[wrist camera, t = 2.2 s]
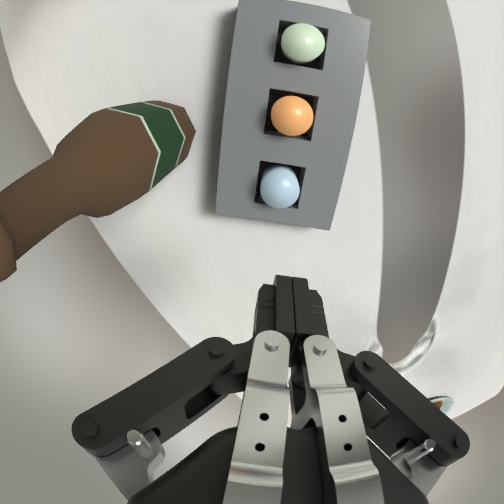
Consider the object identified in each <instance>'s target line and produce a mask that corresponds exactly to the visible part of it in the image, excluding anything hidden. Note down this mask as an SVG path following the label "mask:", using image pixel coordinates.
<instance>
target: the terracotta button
mask: <svg viewBox="0 0 504 504" xmlns="http://www.w3.org/2000/svg"><path fill="white" fill-rule="evenodd" d="M271 120H272V123H273V125H274V126H275V128H276V129H277V130H278V131H279V132H281V133H283V134H285V135H289V136H297V135H301V134H303V133H305V132H306V131H307V130H308V129H309V128H310V126H311V125H312V122H313V111H312V108H311V106H310V105H309V104H308V103H307V102H306V101H305V100H304V99H302V98H300V97H297V96H284V97H281V98H279V99H278V100H277V101H276V102H275V103H274V104H273V106H272V109H271Z"/></svg>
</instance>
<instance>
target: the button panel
mask: <svg viewBox="0 0 504 504" xmlns="http://www.w3.org/2000/svg"><path fill="white" fill-rule="evenodd" d="M297 23H305V24H309V25H312V26H314V27H315V28H317V29H318V30H319V31H320V32H321V33H322V35H323V37H324V40H325V47H324V50H323V52H322V53H321V54H320V60H319V67H318V69H313V68H308V67H303V66H298V65H292V64H285V63H279V62H274V57H275V50H276V43H277V36H278V29H279V27H281V28H288V27H289V26H291V25H293V24H297ZM370 24H371V20H368V19H365V18H362V17H359V16H355V15H352V14H349V13H345V12H341V11H337V10H334V9H329V8H325V7H321V6H316V5H311V4H306V3H300V2H294V1H287V0H239V3H238V10H237V16H236V22H235V29H234V36H233V43H232V50H231V58H230V65H229V73H228V81H227V90H226V98H225V107H224V117H223V126H222V137H221V147H220V158H219V170H218V182H217V195H216V210H215V214H217V215H225V216H233V217H241V218H248V219H255V220H263V221H270V222H277V223H284V224H290V225H297V226H304V227H310V228H317V229H323V230H330V227H331V223H332V220H333V216H334V212H335V208H336V204H337V201H338V197H339V193H340V189H341V185H342V181H343V176H344V172H345V168H346V164H347V159H348V155H349V150H350V146H351V141H352V136H353V132H354V127H355V122H356V116H357V111H358V106H359V100H360V95H361V89H362V83H363V77H364V70H365V64H366V57H367V49H368V41H369V33H370ZM270 89H274V90H281V91H287V92H293V93H299V94H304V95H309V96H314V99H313V105H312V111H313V122H312V125H311V126H310V128H309V129H308V134H307V137H306V136H300V135H297V136H289V135H285V134H283V133H281V132H275V131H268V130H264V128H265V121H266V114H267V107H268V99H269V92H270ZM260 161H268V162H274V163H281V164H287V165H294V166H300V167H301V173H300V178H299V183H298V184H299V189H300V192H299V196H298V198H297V200H296V201H295V203H293V204H292V205H291V206H289V207H286V208H280V209H279V208H274V207H271V206H269V205H268V204H266V203H265V201H264V200H263V199H262V196H261V193H256V187H257V179H258V172H259V165H260Z"/></svg>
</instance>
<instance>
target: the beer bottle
mask: <svg viewBox="0 0 504 504" xmlns="http://www.w3.org/2000/svg"><path fill="white" fill-rule="evenodd" d="M195 132H196V131H195V129H194V127H193V125H192V123H191V121H190V119H189V117H188V115H187V113H186V111H185V109H184V107H180V106H177V105H173V104H170V103H166V102H162V101H146V102H139V103H132V104H126V105H121V106H115V107H110V108H105V109H102V110H99V111H97V112H94V113H92V114H90V115H89V116H88V117H87V118H86V119H84V120H83V121H82V122H81V123H80V124H79V125H77V126H76V127H75V128H74V129H73V130H72V131H71V132H70V133H68V134H67V135H66V136H65V137H64V138H63V139H62V140H61V142H60V143H59V144H58V145H57V146H56V149H55V152H54V155H53V157H52V158H51V159H49V160H47V161H46V162H44V163H42V164H41V165H39V166H38V167H36V168H35V169H33V170H31V171H30V172H28V173H27V174H25V175H24V176H22V177H21V178H19V179H18V180H16V181H15V182H13V183H12V184H10V185H9V186H8V187H6V188H5V189H4V190H2V191H1V192H0V282H1V281H3V280H5V279H7V278H8V277H9V276H10V275H12V274H13V273H14V272H15V271H16V270H17V268H16V260H18V259H19V258H20V257H21V256H22V255H24V254H25V253H26V252H27V251H28V250H30V249H31V248H32V247H33V246H34V245H36V244H37V243H38V242H40V241H41V240H42V239H43V238H45V237H46V236H47V235H49V234H50V233H51V232H53V231H54V230H55V229H56V228H58V227H59V226H60V225H62V224H63V223H65V222H66V221H68V220H70V219H72V218H74V217H76V216H78V215H80V214H83V215H88V216H92V217H96V218H98V217H103V216H108V215H111V214H112V213H114V212H116V211H117V210H119V209H121V208H123V207H124V206H126V205H128V204H130V203H132V202H133V201H135V200H137V199H139V198H140V197H141V196H143V195H144V194H146V193H147V192H149V191H150V190H151V189H152V188H153V187H154V186H155V185H156V184H157V183H159V182H160V181H161V180H162V179H163V178H164V177H165V176H166V175H168V174H169V173H170V172H171V171H172V170H173V169H174V168H176V167H177V166H178V165H179V164H180V163H182V162H183V161H184V160H185V159H186V157H187V156H188V153H189V150H190V147H191V144H192V141H193V138H194V135H195Z"/></svg>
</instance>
